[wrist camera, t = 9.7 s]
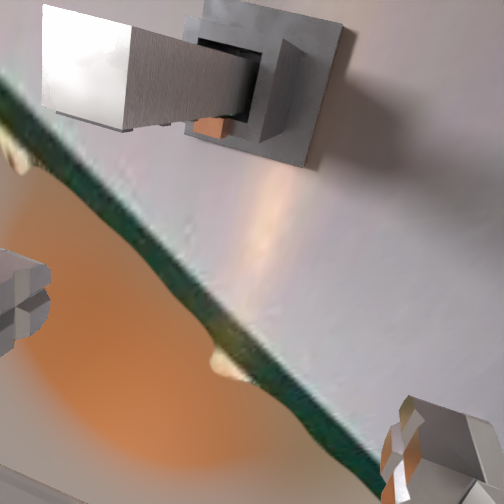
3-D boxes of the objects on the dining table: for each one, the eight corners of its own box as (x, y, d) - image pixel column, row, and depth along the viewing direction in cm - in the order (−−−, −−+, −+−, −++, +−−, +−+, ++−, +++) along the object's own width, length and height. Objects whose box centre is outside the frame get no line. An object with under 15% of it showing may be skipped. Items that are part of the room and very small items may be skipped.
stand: (343, 26, 40) (331, -5, 28) (304, 165, 46) (279, 192, 33) (211, -4, 42) (144, -45, 30) (189, 133, 48) (126, 146, 36)
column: (264, 63, 36) (131, 26, 16) (253, 113, 38) (121, 135, 18) (221, 53, 36) (42, 4, 17) (212, 102, 38) (41, 112, 18)
